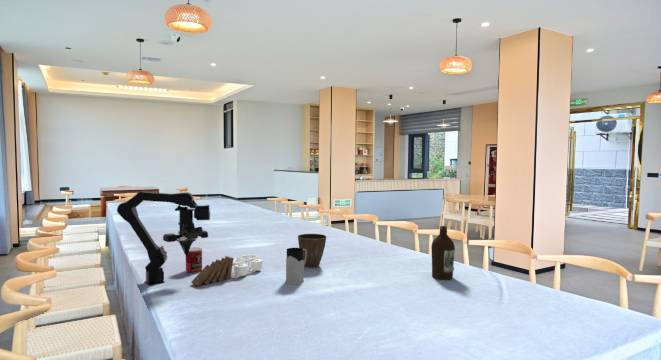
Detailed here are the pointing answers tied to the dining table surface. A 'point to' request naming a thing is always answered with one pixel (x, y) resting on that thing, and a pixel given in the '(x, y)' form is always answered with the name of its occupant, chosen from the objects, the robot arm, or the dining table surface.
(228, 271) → the tile
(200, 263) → the canned food
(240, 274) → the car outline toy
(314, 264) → the plant pot
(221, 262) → the tile
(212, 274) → the tile
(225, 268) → the tile
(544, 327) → the dining table surface
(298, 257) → the tall mug
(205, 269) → the tile
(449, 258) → the olive oil
